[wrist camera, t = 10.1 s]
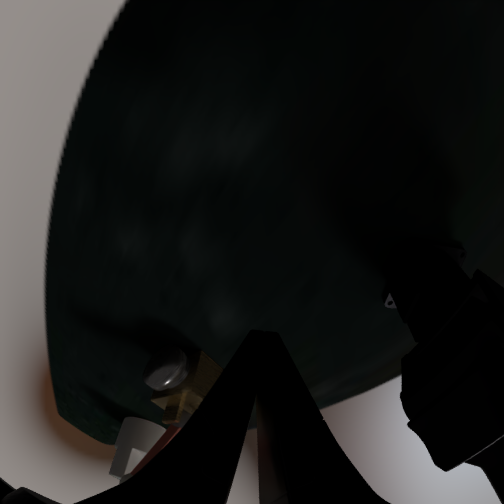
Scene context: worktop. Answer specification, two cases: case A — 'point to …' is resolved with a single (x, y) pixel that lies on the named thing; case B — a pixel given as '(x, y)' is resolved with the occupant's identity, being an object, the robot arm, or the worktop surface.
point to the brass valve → (179, 380)
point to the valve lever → (159, 444)
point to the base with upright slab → (134, 444)
